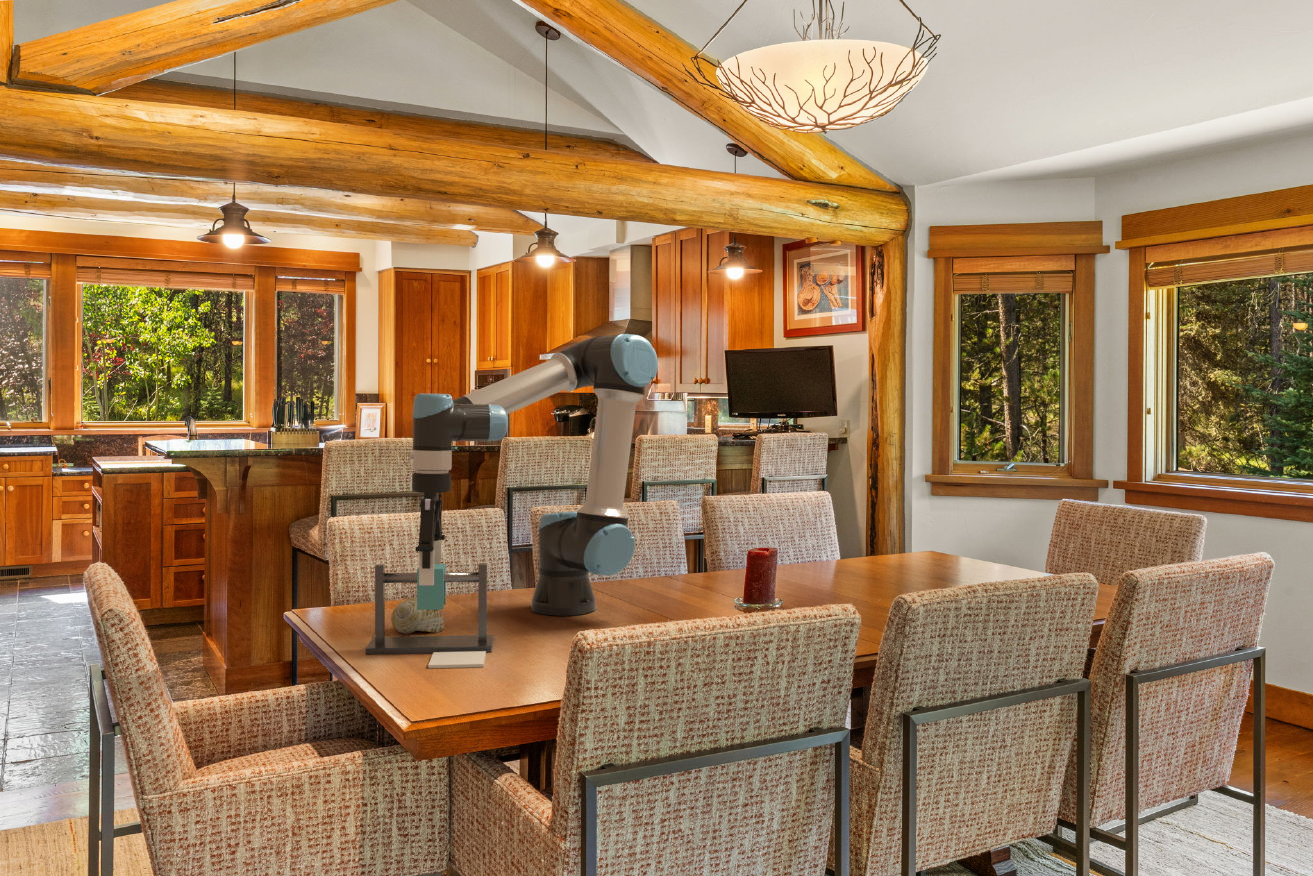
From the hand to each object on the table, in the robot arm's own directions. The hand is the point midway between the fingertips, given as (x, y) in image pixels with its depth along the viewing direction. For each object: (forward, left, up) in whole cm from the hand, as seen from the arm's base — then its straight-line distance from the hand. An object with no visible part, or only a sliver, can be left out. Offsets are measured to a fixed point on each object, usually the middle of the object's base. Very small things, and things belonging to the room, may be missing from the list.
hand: (430, 578), depth 193 cm
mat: (-6, +10, -14) cm, 18 cm away
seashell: (+4, -14, -14) cm, 20 cm away
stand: (0, 0, -14) cm, 14 cm away
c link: (0, 0, -6) cm, 6 cm away
